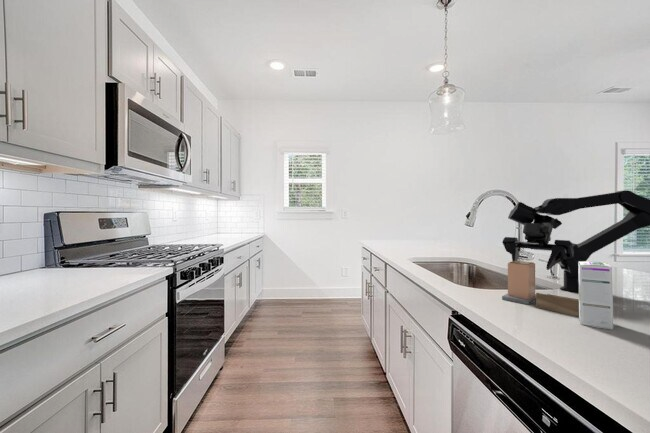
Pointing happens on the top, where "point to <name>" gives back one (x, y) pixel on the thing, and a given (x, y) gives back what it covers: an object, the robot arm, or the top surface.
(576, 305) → the frame
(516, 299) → the slate tile
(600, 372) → the top surface
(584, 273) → the syrup box
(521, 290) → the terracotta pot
